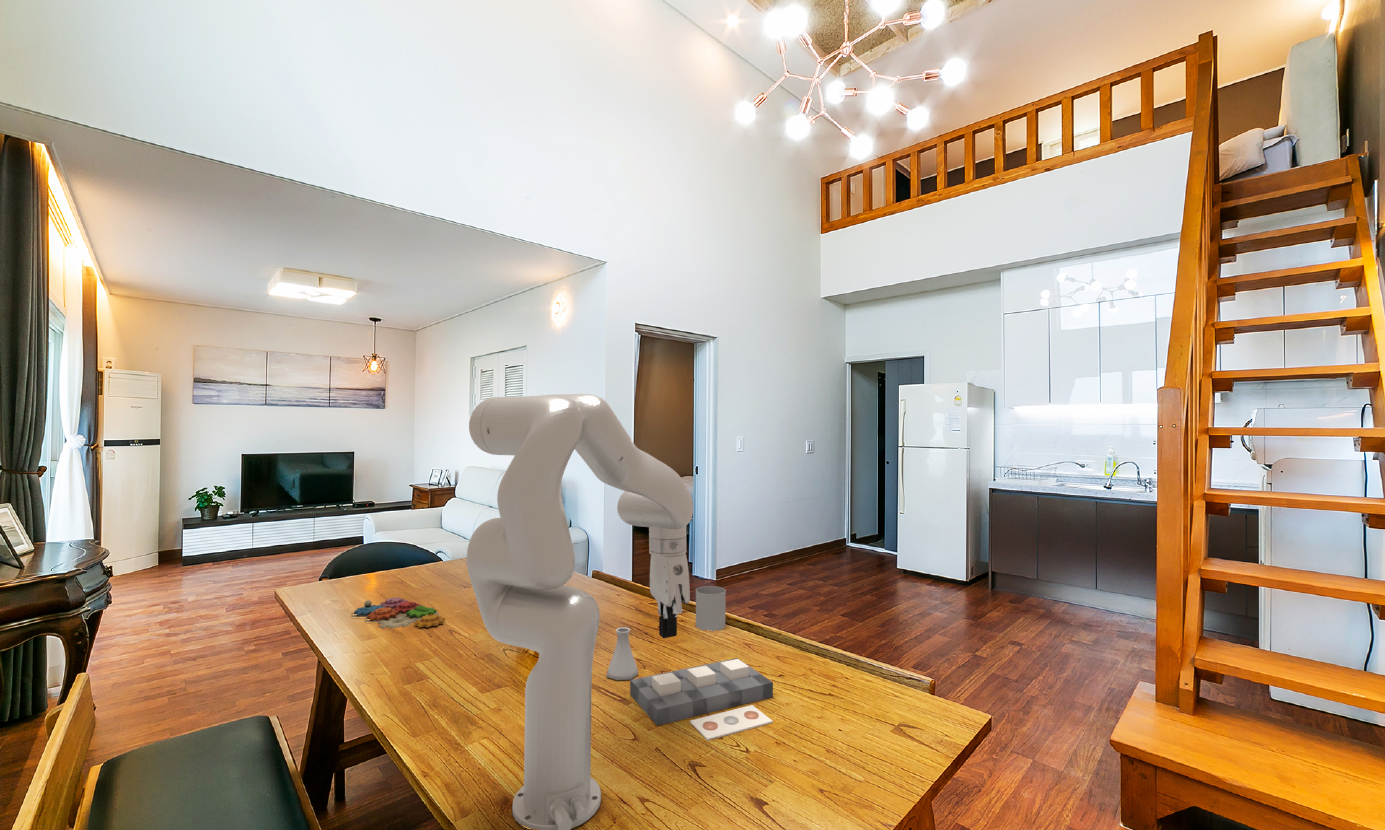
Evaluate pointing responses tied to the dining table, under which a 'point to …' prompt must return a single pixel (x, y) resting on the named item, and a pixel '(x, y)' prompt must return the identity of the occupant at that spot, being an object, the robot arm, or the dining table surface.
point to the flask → (622, 658)
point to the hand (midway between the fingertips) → (668, 635)
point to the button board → (699, 695)
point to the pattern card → (730, 722)
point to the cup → (710, 608)
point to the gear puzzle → (399, 613)
